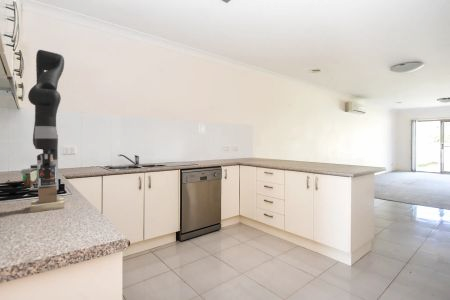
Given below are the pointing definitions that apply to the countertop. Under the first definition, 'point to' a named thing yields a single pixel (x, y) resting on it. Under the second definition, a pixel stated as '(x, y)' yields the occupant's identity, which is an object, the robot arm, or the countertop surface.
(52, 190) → the walnut cube
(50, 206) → the tan flat square piece
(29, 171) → the food container
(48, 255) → the countertop surface
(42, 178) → the pill bottle
